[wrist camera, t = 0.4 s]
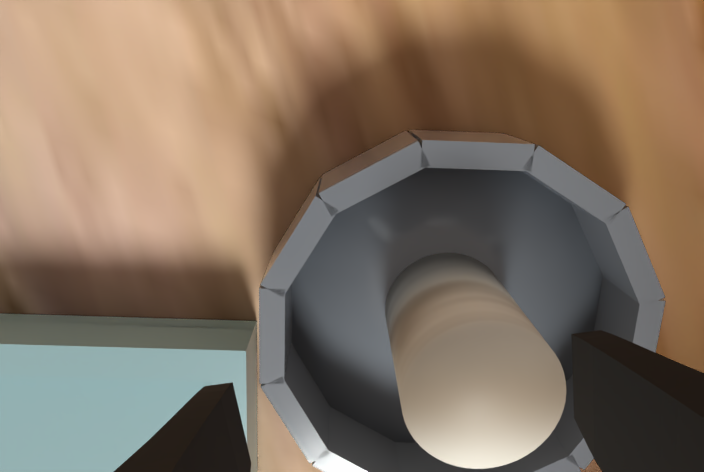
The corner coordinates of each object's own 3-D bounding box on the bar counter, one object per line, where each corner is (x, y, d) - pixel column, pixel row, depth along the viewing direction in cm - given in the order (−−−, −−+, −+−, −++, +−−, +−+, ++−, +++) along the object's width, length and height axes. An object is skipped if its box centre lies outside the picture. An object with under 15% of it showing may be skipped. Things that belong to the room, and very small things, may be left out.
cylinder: (498, 366, 22) (555, 470, 16) (382, 362, 22) (396, 466, 16) (511, 254, 21) (577, 323, 15) (388, 250, 20) (406, 318, 15)
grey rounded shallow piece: (584, 452, 24) (624, 514, 20) (272, 444, 23) (260, 506, 20) (636, 138, 20) (694, 150, 17) (272, 124, 20) (258, 133, 17)
